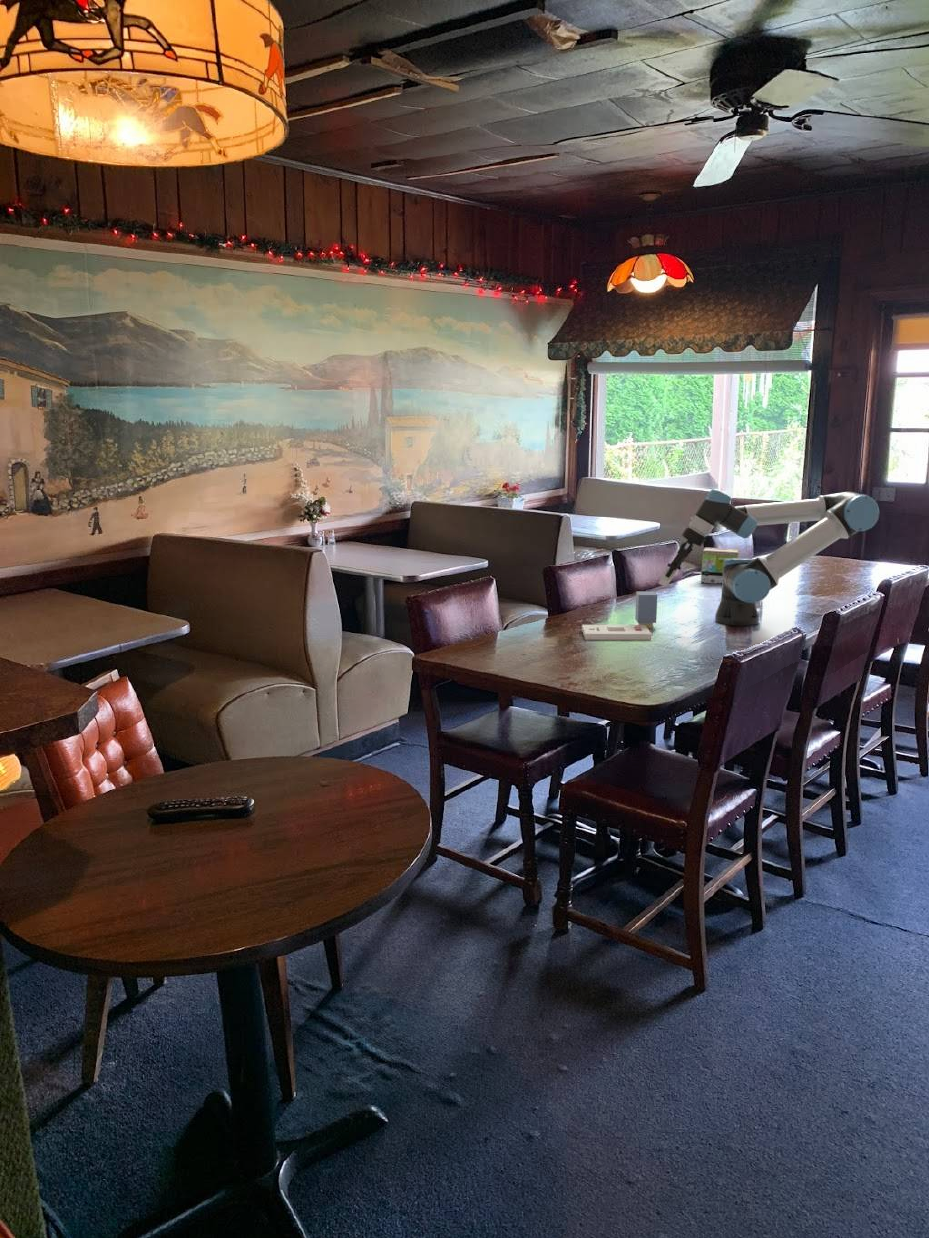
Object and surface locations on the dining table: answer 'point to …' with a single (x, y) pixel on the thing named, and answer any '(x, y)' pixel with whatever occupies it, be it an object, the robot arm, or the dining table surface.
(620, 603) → the dining table surface
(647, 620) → the plug
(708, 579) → the tea box
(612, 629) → the socket plate
